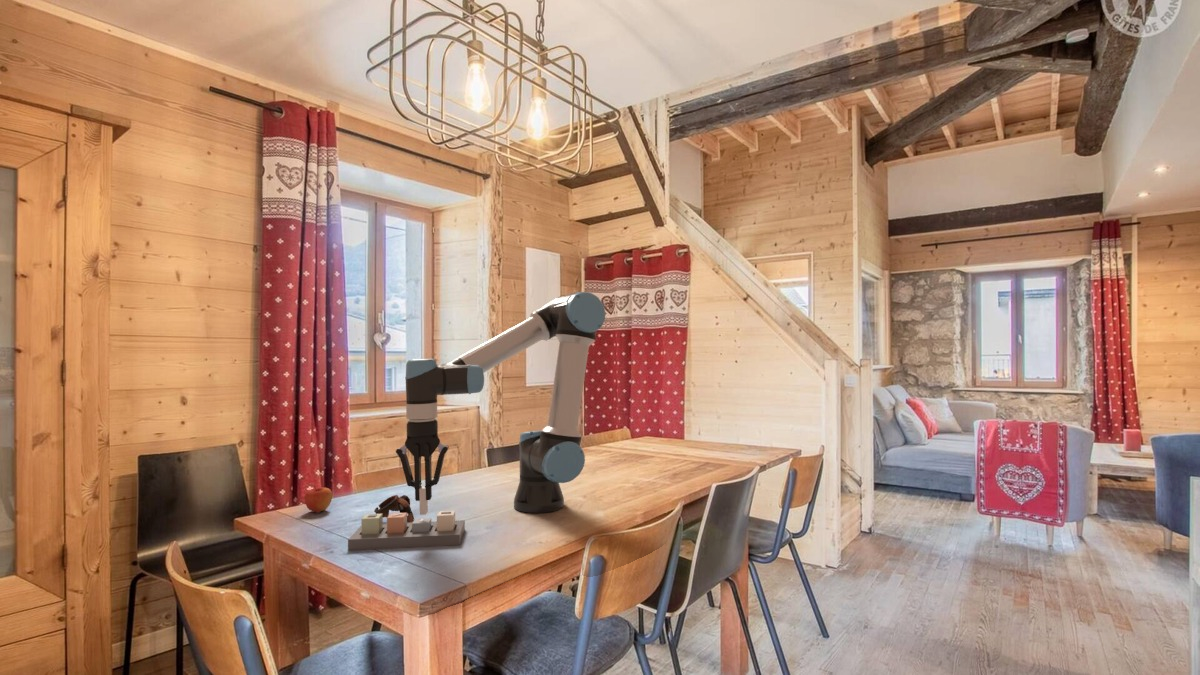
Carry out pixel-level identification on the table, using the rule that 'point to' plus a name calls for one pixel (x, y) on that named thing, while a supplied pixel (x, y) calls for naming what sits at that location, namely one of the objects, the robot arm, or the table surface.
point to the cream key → (446, 521)
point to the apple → (318, 499)
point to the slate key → (421, 525)
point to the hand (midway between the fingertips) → (423, 513)
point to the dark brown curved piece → (396, 506)
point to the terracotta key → (397, 523)
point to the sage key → (372, 524)
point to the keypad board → (407, 538)
